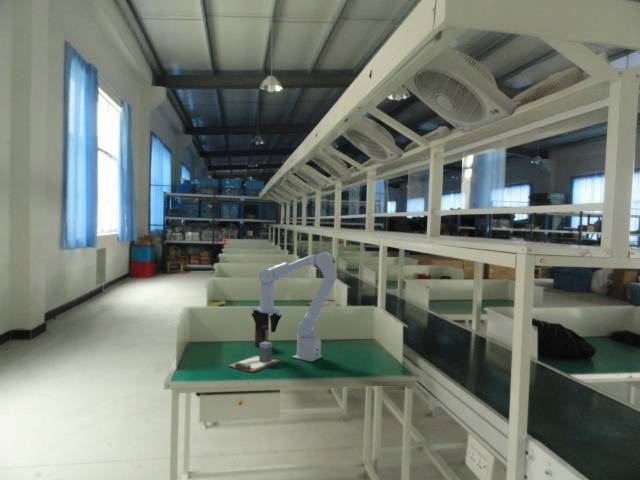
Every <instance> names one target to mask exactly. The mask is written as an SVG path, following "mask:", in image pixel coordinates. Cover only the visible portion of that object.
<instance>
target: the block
mask: <svg viewBox="0 0 640 480" xmlns="http://www.w3.org/2000/svg"><path fill="white" fill-rule="evenodd" d="M258 348H259V353H258V354H259V355H258V356H259V361H261V362H266V363H267V362H269V361H272V359H273V358H272V357H273V355H272V354H273V342H271V341H268V342H266V341H264V342H261V343H260V345H259V347H258Z"/></svg>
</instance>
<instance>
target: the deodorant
mask: <svg viewBox="0 0 640 480" xmlns="http://www.w3.org/2000/svg"><path fill="white" fill-rule="evenodd" d="M269 316H270V314H268V313H263V316H262V324H261V329H259V330H257V328H256V324H255V323H254V325H255V326H254V327H255V328H254V347H256V348H260V347H259V345H260V343H261V342H264V341H266V342H269V325H270V323H269V321H270V320H269V319H270V317H269Z"/></svg>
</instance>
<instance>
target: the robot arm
mask: <svg viewBox="0 0 640 480" xmlns="http://www.w3.org/2000/svg"><path fill="white" fill-rule="evenodd" d="M278 263H279V264H276V265H274V266H269V267H268V268H267V269H266V268H265V269H263V270H261V271H260V272H259V275H258V280H259V281H260V289H259V306H251V316H252V319H253V321H254V325H255V324H256V328H257V330H259V329H261V324H262V316H263V313H268V314H269V319H270V320H269V321H270V332H271V333H275V332H276V330H277V327H278V325H279V324H278V323H279V321H280V320H281V318H282V315H283V310H282V309H278V308H275V307H274V306H275V305H274V303H275V300H274V299H275V297H274V296H275V295H274V294H275V281H278V280H280V279H283V278H286V277H288V276H290V275H291V274H292V272H293V271H295V270H298V269H301V268H303V267H306V266H312V267H313V266H314V267H315V266H317V268H318V269H320V271H321V274H322V277H323V279H322V281H321V283H320V285H319V287H318V290H317V292H316V293H315V295H314V297H313V300H312V301H311V303H310V306H309V307H308V310H307V311H306V313H305V315H304V316H303V318H302V320H301V321H300V322H298V323H297V324H296V325H297V326H296V332H297V334H296V335H297V337H296V354H295V355H293V356H292V358H294V359H298V360H303V361H306V362H307V361H308V362H314V361H316V360H318V359H320V358H322V357H323V355H321V354H322V351H321V350H322V341H321V339H320V338H319V337H317V336H316V334H315V332H314V330H315V329H316V326H317V324H316V323H317V320H318V317H319V315H320V312H321V311H322V308H323V306H324V305H325V302H326V300H327V299H328V296H329V294H330V292H331V290H332V288H333V287H334V284H335V283H336V280H337V277H338V276H337V265H336V263H337V262H336V260H335V258H334V255H333V254H332V253H330V252H328V251H324V252H319V253H317V254H315V253H314V254H312V255H308V256H305V257H303V258H300V259H297V260H296V261H295V260H294V262H291V263H289V262H285V261H280V262H278Z"/></svg>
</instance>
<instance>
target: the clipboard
mask: <svg viewBox="0 0 640 480" xmlns="http://www.w3.org/2000/svg"><path fill="white" fill-rule="evenodd" d="M280 362H281V360H280V359H276V358H272V361H269V362H267V363H266V362H261V361H259V355H257V354H256V355H253V356H250V357H247V358H243V359H242V360H239V361H236V362H234V363H231V364H229V365H228V367H229V368H232V369H236V370H241V371H245V372H249V373H257V372H259V371H262V370H264V369H266V368H268V367H270V366H273V365H275V364H278V363H280Z"/></svg>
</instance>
